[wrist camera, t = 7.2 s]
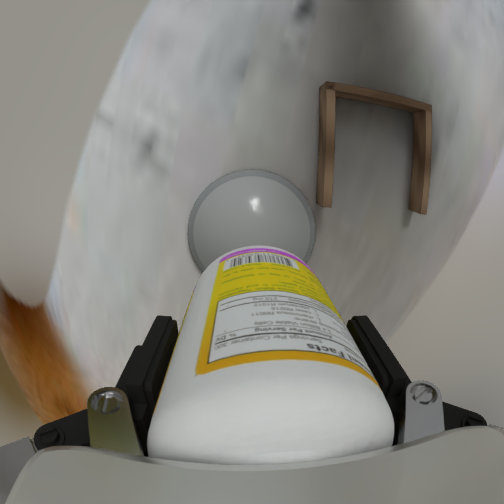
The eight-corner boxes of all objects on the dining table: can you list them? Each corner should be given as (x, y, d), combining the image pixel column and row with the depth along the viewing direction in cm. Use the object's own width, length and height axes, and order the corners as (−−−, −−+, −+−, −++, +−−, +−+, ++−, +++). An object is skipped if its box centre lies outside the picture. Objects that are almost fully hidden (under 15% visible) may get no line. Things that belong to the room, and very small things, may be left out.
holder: (319, 87, 24) (326, 81, 21) (418, 107, 24) (431, 105, 22) (316, 202, 27) (322, 207, 25) (414, 209, 28) (426, 214, 25)
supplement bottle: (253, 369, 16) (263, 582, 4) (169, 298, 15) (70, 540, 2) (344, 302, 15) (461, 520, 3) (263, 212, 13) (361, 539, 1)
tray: (187, 169, 26) (185, 170, 25) (317, 172, 26) (320, 172, 25) (191, 289, 30) (190, 293, 29) (308, 290, 30) (310, 294, 29)
